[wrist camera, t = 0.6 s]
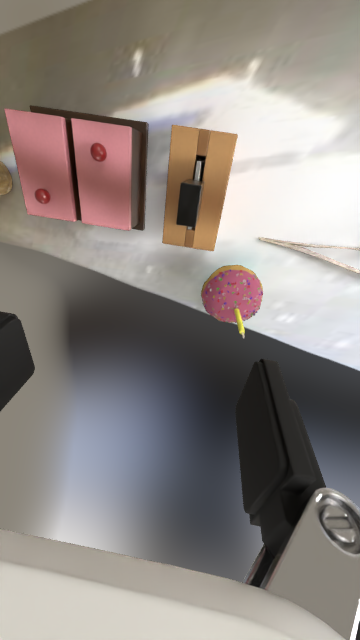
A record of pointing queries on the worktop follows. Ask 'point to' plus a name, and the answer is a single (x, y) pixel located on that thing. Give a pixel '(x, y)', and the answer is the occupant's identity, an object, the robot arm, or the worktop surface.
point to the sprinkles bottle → (5, 179)
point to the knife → (190, 199)
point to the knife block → (217, 165)
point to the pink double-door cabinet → (81, 166)
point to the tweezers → (301, 249)
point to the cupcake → (232, 294)
